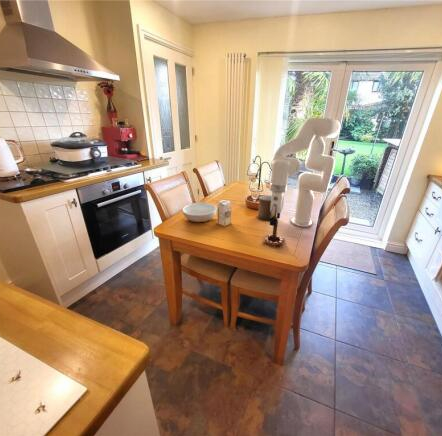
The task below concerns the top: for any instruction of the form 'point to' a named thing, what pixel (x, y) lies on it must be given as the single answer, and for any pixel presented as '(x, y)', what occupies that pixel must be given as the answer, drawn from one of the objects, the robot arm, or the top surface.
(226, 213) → the syrup box
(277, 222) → the post
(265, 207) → the pillar candle
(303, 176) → the robot arm
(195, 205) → the serving bowl
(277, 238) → the ring
